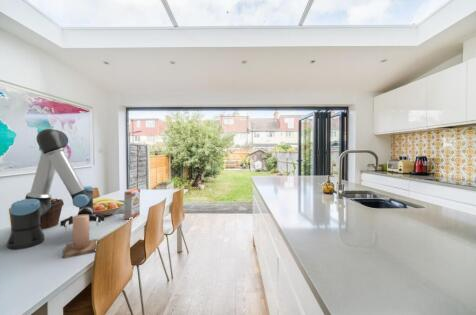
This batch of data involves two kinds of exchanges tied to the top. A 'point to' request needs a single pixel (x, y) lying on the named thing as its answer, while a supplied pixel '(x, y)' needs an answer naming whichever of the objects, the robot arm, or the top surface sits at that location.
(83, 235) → the terracotta canister
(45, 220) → the brown tapered bucket
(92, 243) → the cutting board
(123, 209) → the grey carved relief
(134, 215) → the cracker box
